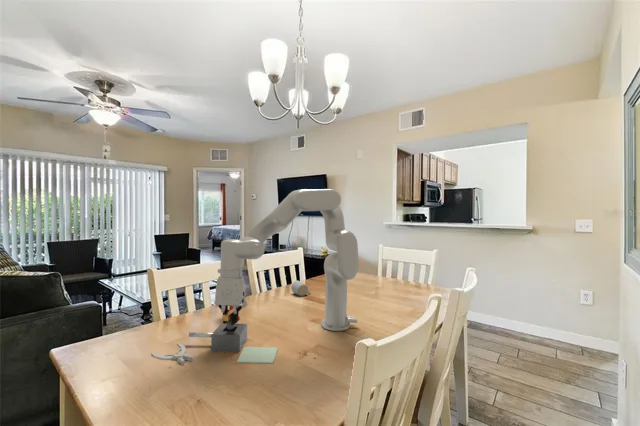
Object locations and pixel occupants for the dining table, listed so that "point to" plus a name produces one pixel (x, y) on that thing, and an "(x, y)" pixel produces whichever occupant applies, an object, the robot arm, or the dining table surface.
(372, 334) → the dining table surface
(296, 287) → the ceramic mug
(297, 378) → the dining table surface
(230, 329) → the chuck key
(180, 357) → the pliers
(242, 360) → the mat
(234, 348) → the block
